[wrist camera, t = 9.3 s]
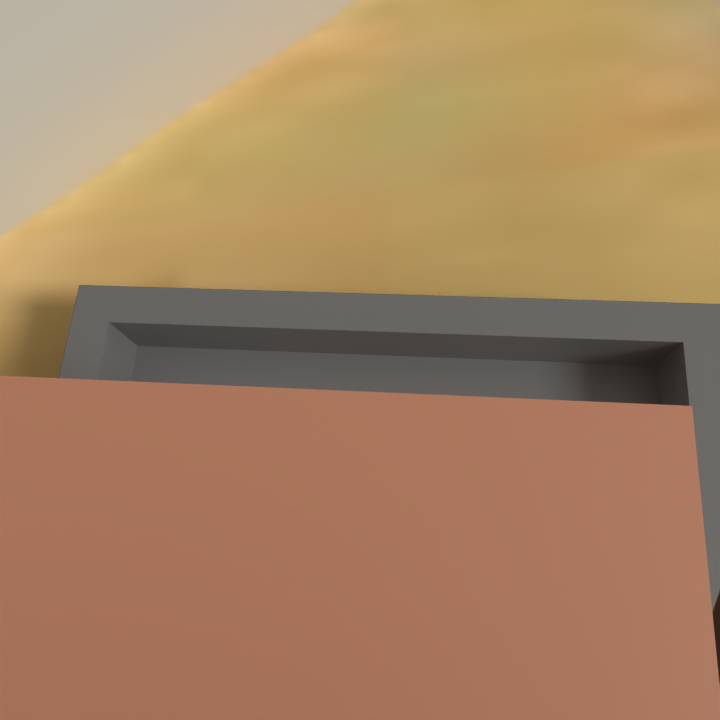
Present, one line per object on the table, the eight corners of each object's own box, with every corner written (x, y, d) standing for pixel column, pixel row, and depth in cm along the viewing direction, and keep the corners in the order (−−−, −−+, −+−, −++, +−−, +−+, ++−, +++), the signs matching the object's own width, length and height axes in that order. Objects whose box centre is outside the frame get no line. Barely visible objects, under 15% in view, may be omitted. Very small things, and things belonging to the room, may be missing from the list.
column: (477, 765, 14) (824, 1752, 2) (255, 744, 15) (-408, 1480, 3) (479, 531, 16) (692, 406, 4) (278, 519, 16) (-84, 371, 4)
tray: (752, 1100, 13) (834, 1227, 10) (-9, 996, 14) (-98, 1085, 12) (679, 341, 18) (723, 304, 15) (121, 322, 19) (79, 284, 17)
